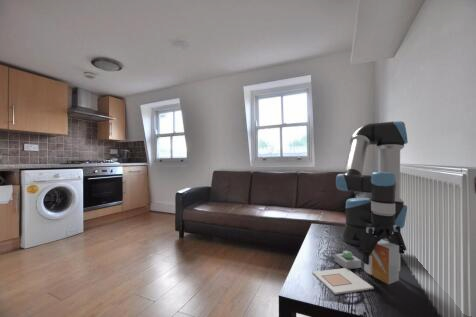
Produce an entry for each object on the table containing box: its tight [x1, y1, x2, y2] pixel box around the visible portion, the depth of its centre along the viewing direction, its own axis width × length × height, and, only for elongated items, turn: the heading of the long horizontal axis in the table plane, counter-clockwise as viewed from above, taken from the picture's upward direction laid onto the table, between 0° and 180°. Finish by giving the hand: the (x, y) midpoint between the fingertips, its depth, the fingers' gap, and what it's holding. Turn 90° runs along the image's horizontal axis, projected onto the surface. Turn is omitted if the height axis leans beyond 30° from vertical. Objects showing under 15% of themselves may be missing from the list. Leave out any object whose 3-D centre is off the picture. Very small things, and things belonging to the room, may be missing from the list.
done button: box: [342, 250, 353, 260], centre depth 88 cm, size 3×3×2 cm
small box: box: [366, 239, 400, 285], centre depth 79 cm, size 8×6×13 cm
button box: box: [333, 252, 362, 270], centre depth 88 cm, size 7×7×3 cm
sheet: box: [312, 267, 375, 295], centre depth 76 cm, size 15×13×1 cm
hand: (382, 270), depth 79 cm, fingers open, 12 cm apart
